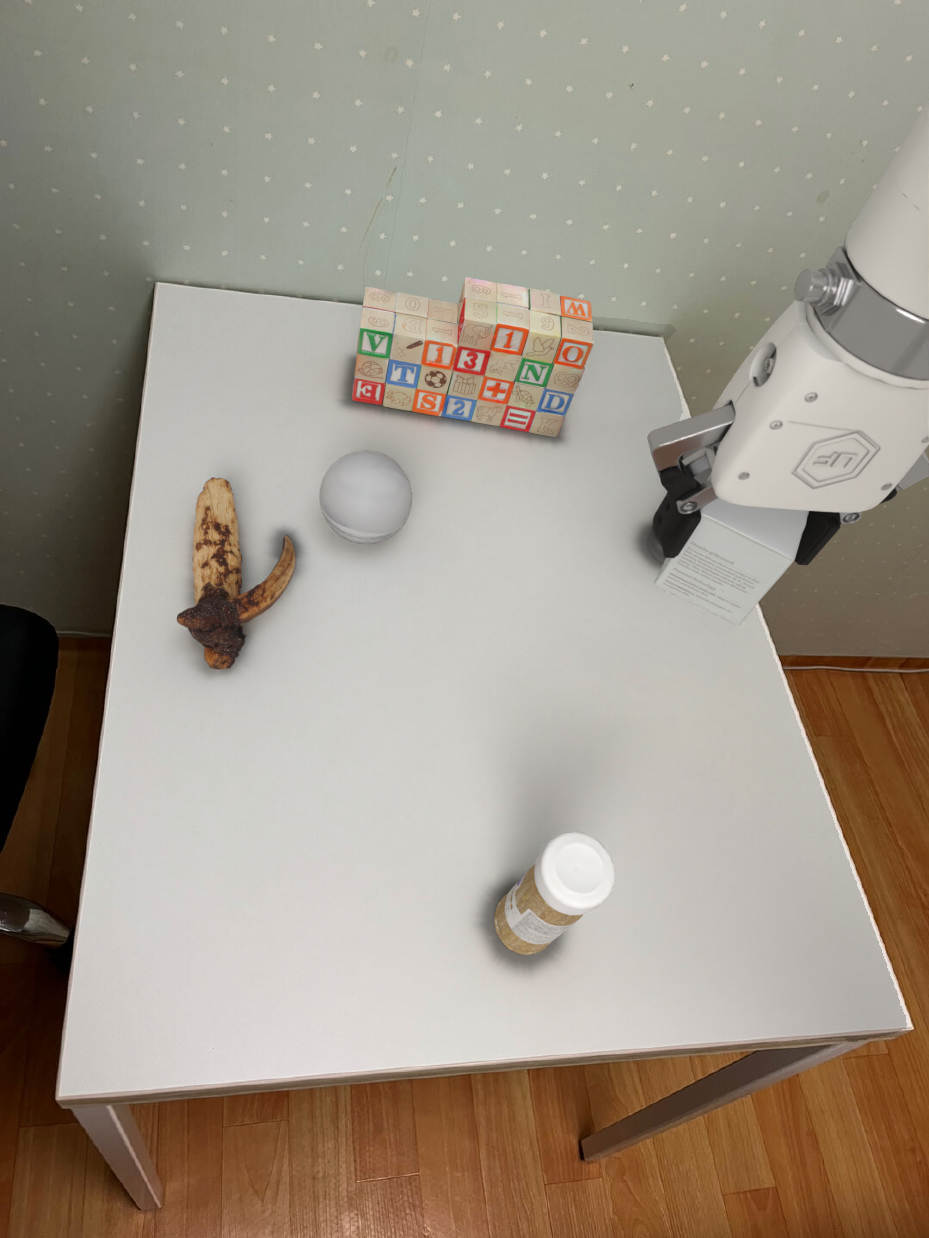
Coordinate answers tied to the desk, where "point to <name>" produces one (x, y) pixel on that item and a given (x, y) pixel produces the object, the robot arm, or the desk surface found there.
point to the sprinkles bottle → (555, 892)
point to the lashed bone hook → (226, 578)
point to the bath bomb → (365, 497)
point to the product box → (733, 557)
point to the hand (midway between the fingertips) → (730, 542)
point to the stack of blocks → (475, 354)
